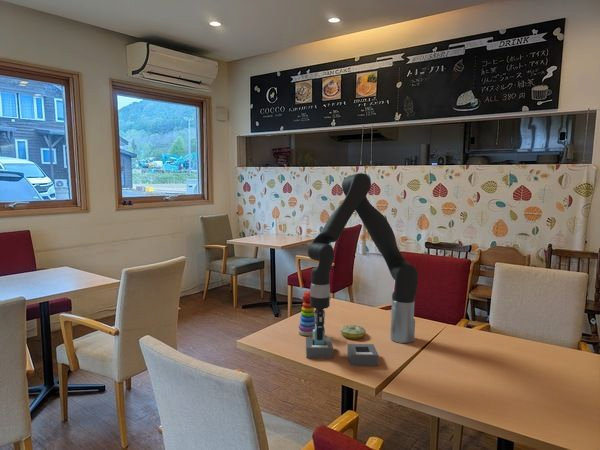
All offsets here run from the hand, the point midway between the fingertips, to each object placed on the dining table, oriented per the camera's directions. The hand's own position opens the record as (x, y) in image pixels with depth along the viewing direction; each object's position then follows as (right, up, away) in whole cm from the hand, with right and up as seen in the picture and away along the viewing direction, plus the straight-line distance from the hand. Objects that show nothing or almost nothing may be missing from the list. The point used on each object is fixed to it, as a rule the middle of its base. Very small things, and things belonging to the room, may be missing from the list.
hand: (319, 336), depth 158 cm
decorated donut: (+16, -5, +19) cm, 25 cm away
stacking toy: (-4, -4, +21) cm, 21 cm away
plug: (0, -6, +1) cm, 6 cm away
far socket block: (0, -6, +1) cm, 6 cm away
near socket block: (+16, -7, -5) cm, 18 cm away
